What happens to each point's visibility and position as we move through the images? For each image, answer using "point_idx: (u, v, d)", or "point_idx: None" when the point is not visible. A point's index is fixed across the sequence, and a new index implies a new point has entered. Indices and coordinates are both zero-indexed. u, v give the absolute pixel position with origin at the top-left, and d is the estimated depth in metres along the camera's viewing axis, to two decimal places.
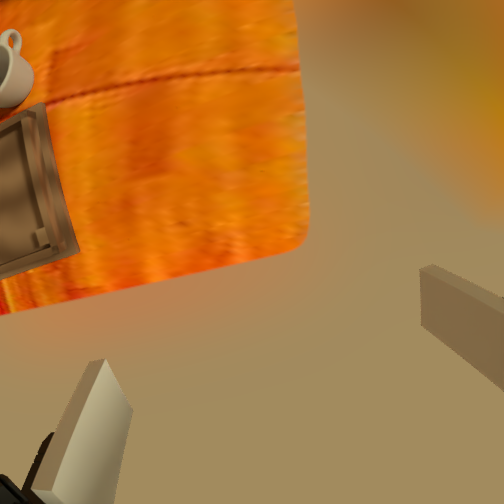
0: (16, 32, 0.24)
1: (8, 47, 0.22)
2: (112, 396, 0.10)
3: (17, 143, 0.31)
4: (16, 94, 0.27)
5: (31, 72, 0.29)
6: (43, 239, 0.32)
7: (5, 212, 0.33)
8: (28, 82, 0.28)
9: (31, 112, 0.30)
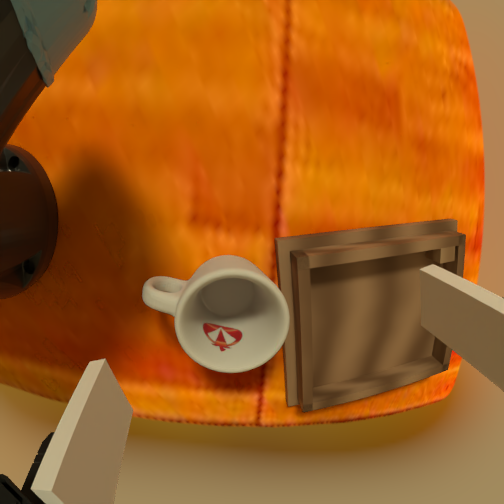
0: (149, 281, 0.24)
1: (198, 281, 0.21)
2: (112, 396, 0.10)
3: (322, 285, 0.29)
4: None
5: (224, 256, 0.27)
6: (450, 253, 0.28)
7: (394, 314, 0.31)
8: (243, 259, 0.26)
9: (295, 253, 0.27)
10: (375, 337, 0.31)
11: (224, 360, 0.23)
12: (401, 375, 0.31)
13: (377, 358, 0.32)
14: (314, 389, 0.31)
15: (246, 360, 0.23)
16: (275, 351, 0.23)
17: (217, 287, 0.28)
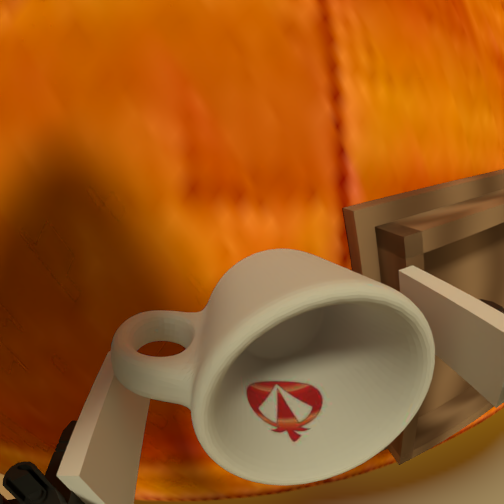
0: (123, 331, 0.10)
1: (241, 332, 0.08)
2: None
3: None
4: None
5: (267, 252, 0.13)
6: None
7: (502, 301, 0.18)
8: (307, 253, 0.13)
9: (391, 230, 0.14)
10: None
11: (305, 461, 0.10)
12: None
13: None
14: None
15: (347, 451, 0.10)
16: (404, 426, 0.09)
17: None
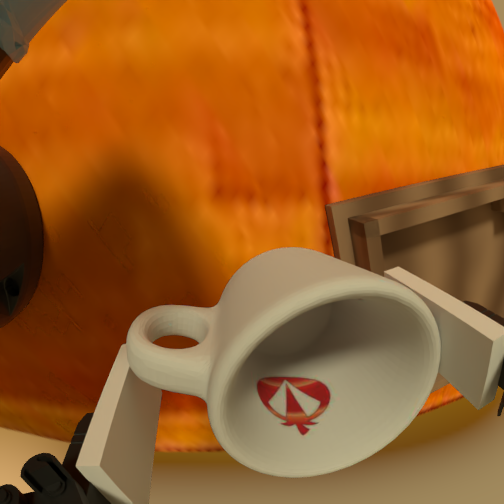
0: (139, 324, 0.11)
1: (260, 324, 0.08)
2: None
3: (390, 257, 0.22)
4: None
5: (279, 250, 0.14)
6: None
7: (466, 281, 0.24)
8: (318, 252, 0.14)
9: (357, 219, 0.20)
10: None
11: (314, 454, 0.10)
12: None
13: None
14: None
15: (354, 445, 0.10)
16: (410, 421, 0.10)
17: None
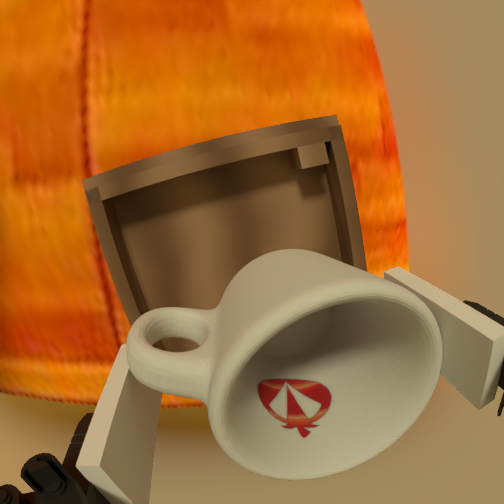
0: (139, 327, 0.11)
1: (261, 327, 0.08)
2: None
3: (144, 223, 0.23)
4: None
5: (280, 252, 0.14)
6: (317, 153, 0.21)
7: (261, 252, 0.25)
8: None
9: None
10: None
11: (315, 456, 0.10)
12: None
13: None
14: None
15: (356, 447, 0.10)
16: (411, 423, 0.10)
17: None
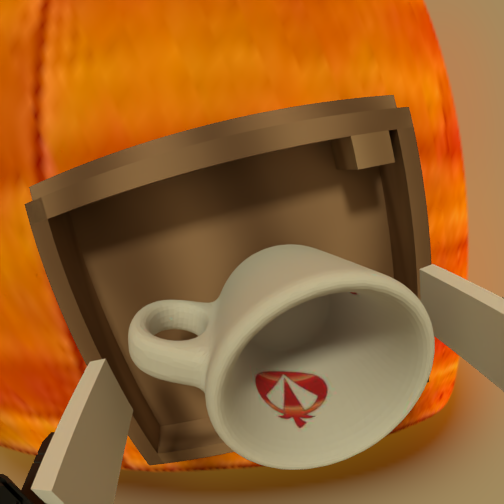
0: (140, 317, 0.11)
1: (255, 315, 0.08)
2: (112, 396, 0.10)
3: (115, 250, 0.15)
4: None
5: (278, 247, 0.14)
6: (379, 146, 0.13)
7: None
8: (315, 248, 0.14)
9: None
10: None
11: (310, 446, 0.11)
12: None
13: None
14: (171, 428, 0.18)
15: (350, 438, 0.11)
16: (405, 415, 0.10)
17: None
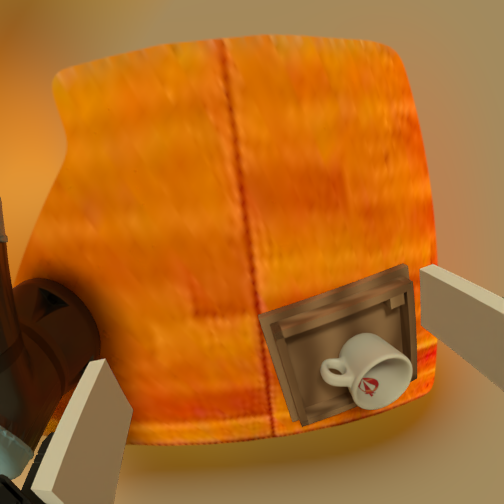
0: (326, 368, 0.35)
1: (368, 367, 0.32)
2: (112, 396, 0.10)
3: (299, 340, 0.39)
4: None
5: (362, 336, 0.38)
6: (399, 299, 0.36)
7: None
8: (375, 336, 0.37)
9: (273, 327, 0.37)
10: None
11: (375, 402, 0.34)
12: None
13: None
14: (309, 408, 0.41)
15: (387, 398, 0.34)
16: (404, 390, 0.33)
17: None
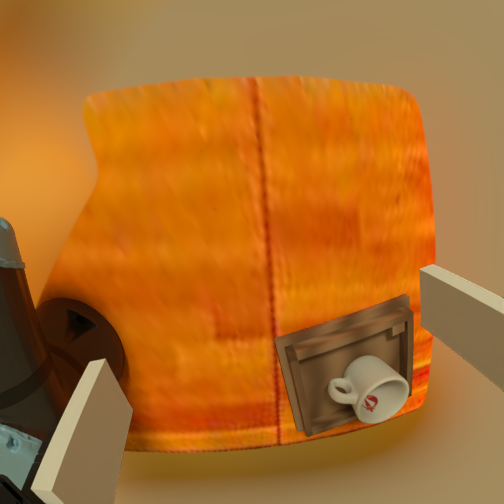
0: (334, 387, 0.38)
1: (371, 388, 0.35)
2: (112, 396, 0.10)
3: (309, 361, 0.42)
4: (390, 367, 0.40)
5: (365, 359, 0.41)
6: (400, 327, 0.40)
7: None
8: (377, 359, 0.41)
9: (288, 350, 0.40)
10: None
11: (375, 417, 0.38)
12: None
13: None
14: (313, 420, 0.45)
15: (386, 414, 0.38)
16: (401, 407, 0.37)
17: None
